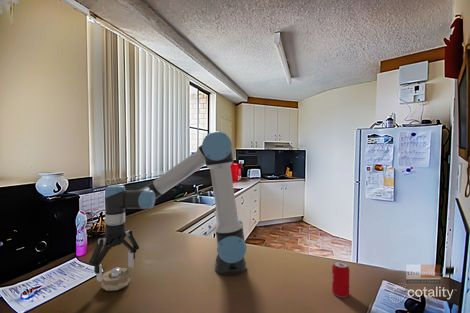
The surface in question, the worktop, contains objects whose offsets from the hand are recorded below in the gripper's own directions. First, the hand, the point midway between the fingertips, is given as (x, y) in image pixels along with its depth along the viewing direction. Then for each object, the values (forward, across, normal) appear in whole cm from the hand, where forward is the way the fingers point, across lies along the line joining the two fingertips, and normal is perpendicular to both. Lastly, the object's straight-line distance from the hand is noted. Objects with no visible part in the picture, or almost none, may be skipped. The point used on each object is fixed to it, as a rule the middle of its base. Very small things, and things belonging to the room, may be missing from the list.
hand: (116, 273), depth 102 cm
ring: (+4, 0, 0) cm, 4 cm away
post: (+5, 0, 0) cm, 5 cm away
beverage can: (+5, -47, +78) cm, 92 cm away
